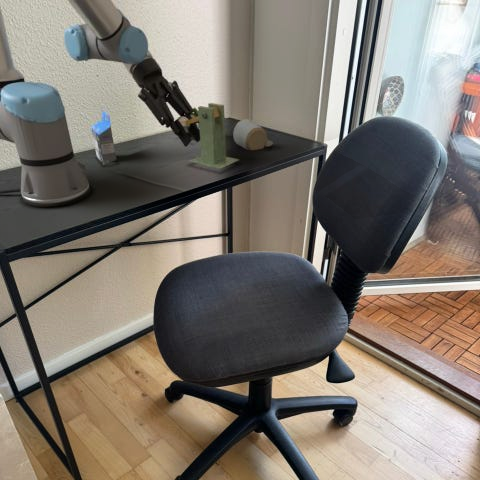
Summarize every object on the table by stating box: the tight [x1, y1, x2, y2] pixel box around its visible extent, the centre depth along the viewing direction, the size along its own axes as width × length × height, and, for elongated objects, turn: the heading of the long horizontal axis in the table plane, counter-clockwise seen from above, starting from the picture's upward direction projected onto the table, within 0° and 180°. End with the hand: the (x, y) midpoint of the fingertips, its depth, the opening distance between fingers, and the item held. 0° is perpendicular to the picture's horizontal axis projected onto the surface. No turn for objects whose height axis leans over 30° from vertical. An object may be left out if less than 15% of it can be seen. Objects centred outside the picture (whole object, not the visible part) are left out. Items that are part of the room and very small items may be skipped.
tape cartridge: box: [90, 109, 117, 166], centre depth 127 cm, size 9×4×12 cm, turn 27°
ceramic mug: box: [232, 118, 274, 151], centre depth 135 cm, size 11×8×8 cm
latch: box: [176, 106, 219, 131], centre depth 123 cm, size 14×4×4 cm, turn 54°
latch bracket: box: [188, 102, 240, 170], centre depth 122 cm, size 11×8×15 cm
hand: (194, 141), depth 127 cm, fingers closed on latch, 4 cm apart
